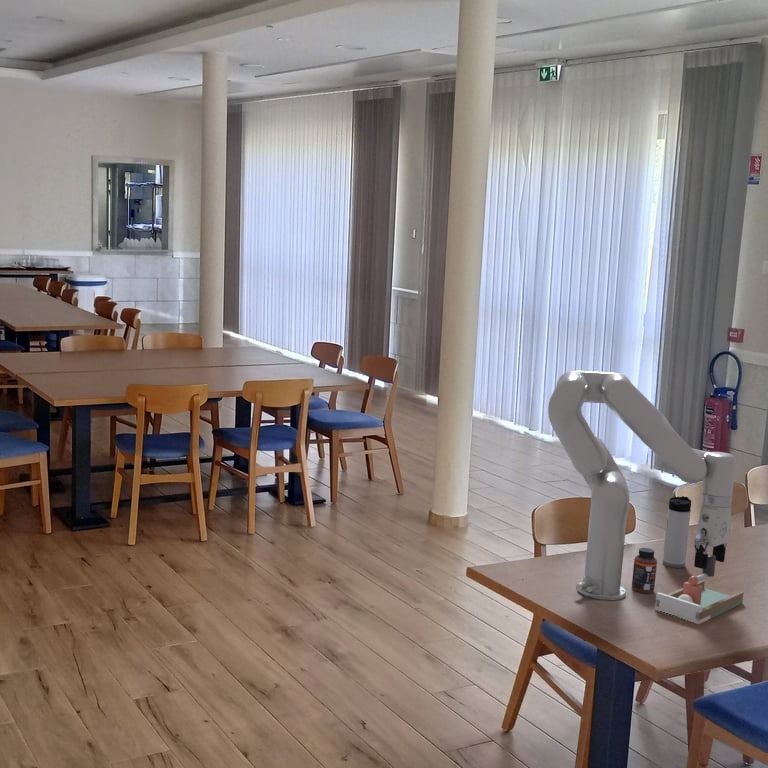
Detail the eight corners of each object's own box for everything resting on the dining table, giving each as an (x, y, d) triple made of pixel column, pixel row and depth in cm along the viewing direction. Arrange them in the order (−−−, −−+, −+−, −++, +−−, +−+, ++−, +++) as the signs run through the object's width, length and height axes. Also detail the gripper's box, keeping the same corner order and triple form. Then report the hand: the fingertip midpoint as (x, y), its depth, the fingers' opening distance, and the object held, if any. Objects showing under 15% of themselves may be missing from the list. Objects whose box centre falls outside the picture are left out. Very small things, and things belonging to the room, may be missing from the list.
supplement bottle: (652, 595, 272) (657, 554, 271) (630, 591, 274) (634, 550, 273) (655, 588, 278) (659, 548, 276) (632, 585, 280) (636, 545, 278)
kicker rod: (696, 609, 260) (701, 565, 258) (680, 604, 263) (685, 560, 261) (716, 600, 267) (720, 557, 266) (700, 595, 270) (705, 552, 269)
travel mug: (689, 565, 301) (696, 498, 298) (679, 569, 296) (685, 502, 293) (669, 559, 305) (675, 494, 302) (659, 564, 300) (665, 497, 297)
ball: (697, 596, 260) (694, 611, 260) (682, 592, 262) (680, 607, 262) (690, 597, 257) (687, 613, 257) (675, 592, 259) (672, 608, 260)
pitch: (698, 624, 253) (700, 606, 253) (655, 610, 261) (656, 593, 261) (742, 603, 270) (744, 586, 270) (700, 590, 279) (701, 574, 278)
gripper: (714, 508, 255) (706, 574, 258) (745, 498, 268) (738, 561, 270) (686, 502, 260) (679, 566, 263) (718, 492, 273) (711, 554, 275)
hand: (709, 564), depth 266 cm, fingers open, 9 cm apart
